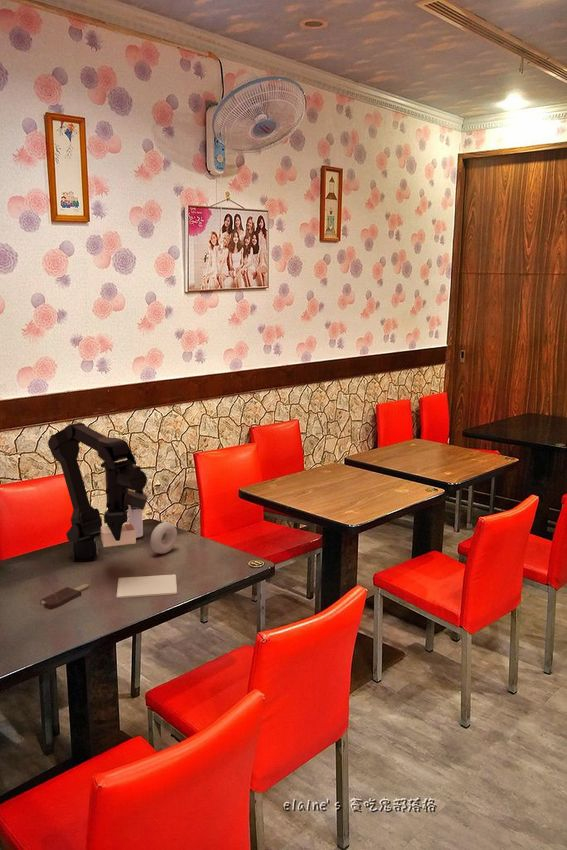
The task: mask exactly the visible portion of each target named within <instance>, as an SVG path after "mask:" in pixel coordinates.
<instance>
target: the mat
mask: <svg viewBox="0 0 567 850" xmlns="http://www.w3.org/2000/svg"><path fill="white" fill-rule="evenodd" d="M176 575H177V574H163V575H162V574H159V575H147V576H146V575H145V576H129V577H118V581H117V591H116V599H126V598H138V597H140V598H141V597H154V596H169V595H177V594H178V589H177V588H178V587H177V576H176Z"/></svg>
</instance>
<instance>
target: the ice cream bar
mask: <svg viewBox="0 0 567 850" xmlns="http://www.w3.org/2000/svg"><path fill="white" fill-rule="evenodd" d="M88 588H89V584H88V583H84V584H81V585H80V586H77V587H75V588H71V587H68V586H66V587H64V588H61V589H60V590H59V589H58V590H57V591H56V592H54V593H51V594H49V595H47V596H45V597H43V598H41V599H40V600H39V601H40V605H44V608H45V609H47V608H48V610H55V609H58V608H59V607H62V606H63V605H65V604H67V603H69V602H71V601H74V600H75V599H77V598H79V597H81V596H82V591H83V590H85V589H88ZM54 608H55V609H54Z"/></svg>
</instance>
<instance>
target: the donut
mask: <svg viewBox="0 0 567 850" xmlns="http://www.w3.org/2000/svg"><path fill="white" fill-rule="evenodd" d="M164 534H165V535H166V536H165V539H164V541H163V542H162V538H163V536H164ZM177 539H178V532H177V528H176V526H175V525H174V524H173V523H172V522H168V521H164V522H161V523H159V524H157V525H156V526H155V528H154V529H153V531H152V532H151V535H150V542H149V543H150V546H151V548H152V550H153V551H154V552H155V553H157V554H161V555H164V554H167V553H168V552H170V551H171V550H172V549H173V548H174V547H175V544H176V542H177Z"/></svg>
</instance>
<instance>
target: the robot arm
mask: <svg viewBox="0 0 567 850" xmlns="http://www.w3.org/2000/svg"><path fill="white" fill-rule="evenodd" d="M49 437H50V438H49V439H48V441H47V446H48V448H49V450H50V453H51V455H52V458H54V459H55V460H56V461H57V462H58V463H59V464H60V467H61V471H62V474H63V478H64V481H65V484H66V488H67V492H68V495H69V499H70V502H71V505H72V508H73V509H72V512H71V513H72V514H71V517H70V524H71V526H70V528H69V529H68V530H67V532H66V533H65V535H66V539H67V542H68V541H69V542H71V543H72V551H73V558H72V562H74V563H75V562H90V561H96V557H97V556H98V541H97V540H96V538H98V537H101V527H103V523H104V524H106V526H108V527H109V529H110V531H111V532H112V534H113V536H114V538H115V540H116V541H119V540H120V536H121V530H122V525H123V524H126V523H128V509H129V506H128V505H130V506H133V507H137V508H139V509H141V510H142V511H143V510H145V507H146V505H147V501H148V495H147V494H146V493H144V492H143V491H144V488H145V487H146V485H147V483H148V482H147V481H148V477H147V474H146V473H145V471H143V470H141V469H142V467H141V466H140V465H137V460H136V459H135V458H136V457H135V455H134V454H133V452H132V450H131V447H130V446H129V444H128V442H127V441H126V440H124V439H123V438H119V437H109V436H105V435H104V434H102V433H100V432H98V431H96V430H94V429H92V428H90V427H89V426H87V425H86V424H85V423H83V422H75V423H70V424H68V425H66V426H65V427H64V428H63V429H61V430H60V431H57V432H55V433H54V434H51V435H50V436H49ZM80 443H82V444H83V445H84V446H85V445H86V446H87V447H89V448H90V449H92V450H94V451H96V453H97V456H98V458H100V459H101V460H102V461H103V462H102V463H100V467H101V468H104V471H105V472H104V473H105V494H106V496H105V497H106V504H105V506H106V507H105V508H106V511H105V512H104V514H103V519H102V518H101V515H100V510H99V509H98V508H94V507H93V506H92V505H91V503H90V501H89V496H88V494H87V490H86V487H85V486H86V485H85V482H84V480H83V479H84V478H83V475H82V473H81V469H80V465H79V462H78V461H79V460H78V458H79V457H78V456H79V453H80V451H81V448H80ZM128 489H131V490H134V491H130V490H128Z"/></svg>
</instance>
